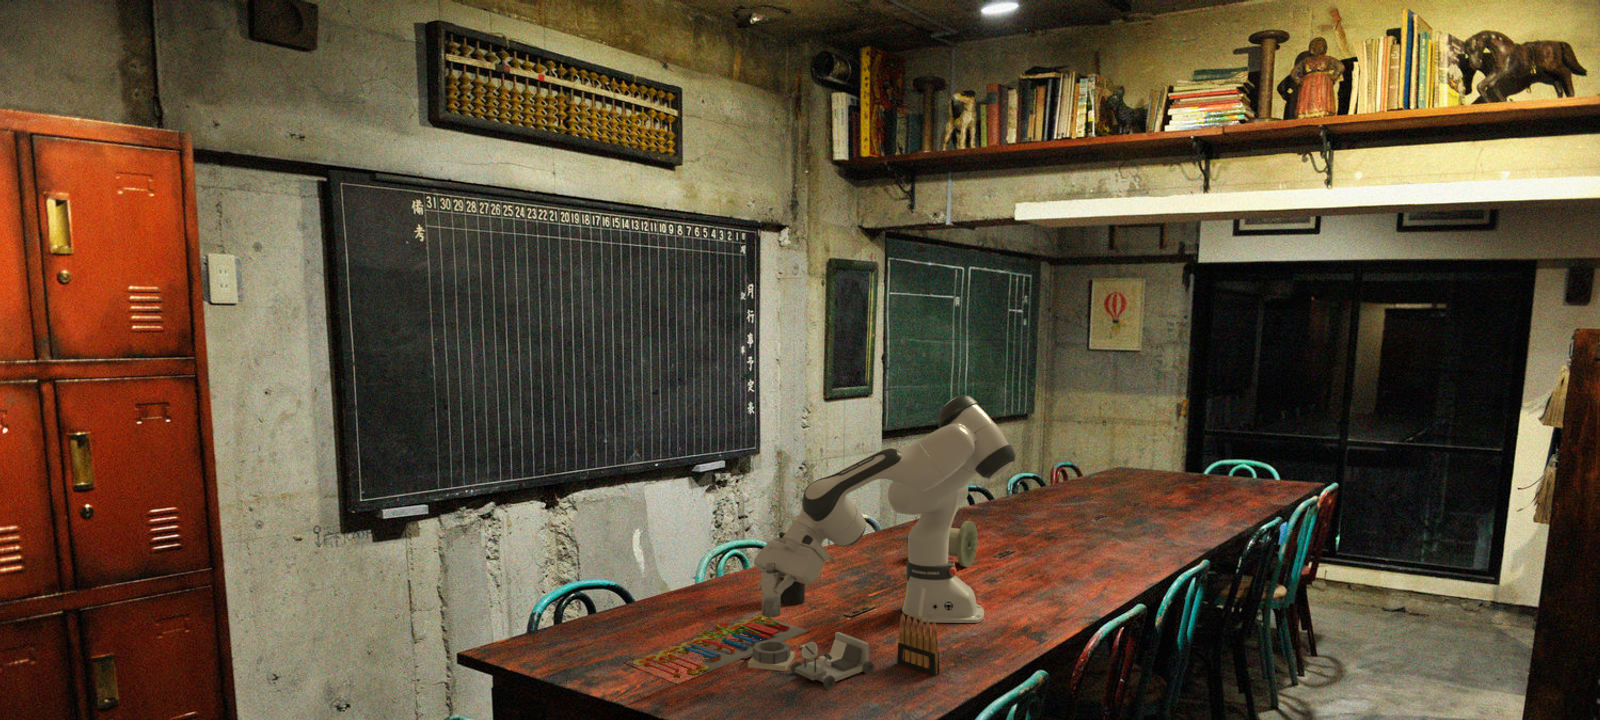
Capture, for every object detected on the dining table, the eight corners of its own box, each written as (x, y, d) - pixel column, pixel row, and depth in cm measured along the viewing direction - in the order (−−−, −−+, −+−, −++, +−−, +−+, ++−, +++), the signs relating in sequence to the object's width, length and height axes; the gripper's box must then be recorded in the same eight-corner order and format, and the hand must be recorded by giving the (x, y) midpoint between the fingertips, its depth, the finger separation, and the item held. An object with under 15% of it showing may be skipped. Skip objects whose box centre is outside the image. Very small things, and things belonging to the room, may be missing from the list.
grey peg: (781, 612, 201) (781, 561, 202) (779, 617, 197) (778, 566, 197) (763, 611, 202) (763, 561, 202) (760, 617, 198) (759, 565, 198)
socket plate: (794, 656, 202) (794, 641, 202) (785, 671, 193) (785, 655, 193) (758, 653, 204) (758, 638, 204) (747, 667, 195) (747, 651, 195)
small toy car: (816, 650, 181) (781, 635, 190) (816, 695, 181) (781, 678, 190) (874, 630, 193) (838, 618, 202) (874, 673, 193) (838, 658, 202)
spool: (977, 561, 288) (977, 517, 288) (961, 571, 275) (961, 526, 275) (932, 554, 297) (932, 512, 297) (914, 564, 284) (914, 520, 284)
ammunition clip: (896, 663, 198) (897, 613, 198) (901, 661, 199) (901, 611, 199) (935, 676, 191) (935, 623, 190) (939, 673, 192) (940, 621, 192)
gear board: (755, 607, 232) (808, 623, 220) (755, 616, 233) (808, 633, 220) (623, 654, 198) (677, 676, 186) (623, 665, 198) (677, 687, 186)
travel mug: (802, 606, 239) (802, 536, 239) (776, 605, 241) (776, 535, 240) (807, 598, 247) (807, 530, 246) (782, 596, 248) (782, 529, 248)
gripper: (767, 529, 212) (736, 574, 206) (820, 541, 196) (787, 590, 190) (782, 544, 215) (751, 589, 209) (834, 557, 199) (803, 606, 193)
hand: (769, 590), depth 199 cm, fingers closed on grey peg, 4 cm apart
